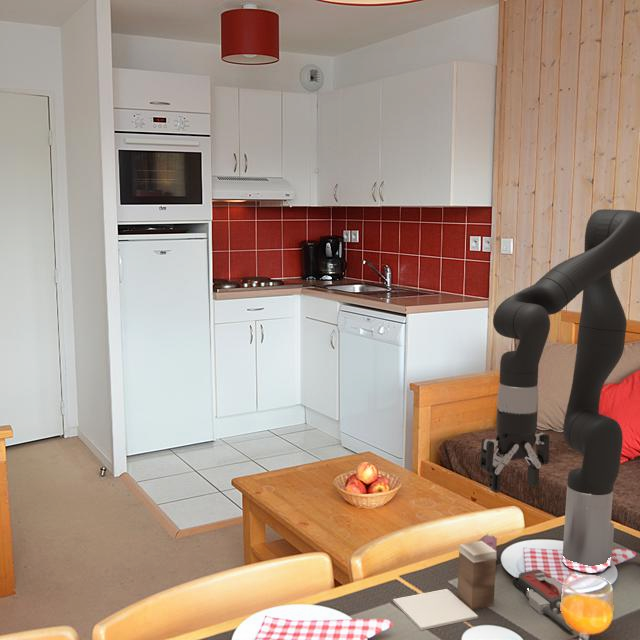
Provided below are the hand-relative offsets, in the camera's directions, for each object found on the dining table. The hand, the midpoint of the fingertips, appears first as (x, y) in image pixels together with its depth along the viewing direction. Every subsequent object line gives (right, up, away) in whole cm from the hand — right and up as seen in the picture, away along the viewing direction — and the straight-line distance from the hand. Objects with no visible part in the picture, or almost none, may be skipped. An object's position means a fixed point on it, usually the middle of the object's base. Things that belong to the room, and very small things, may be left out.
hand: (513, 488), depth 153 cm
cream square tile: (-16, -22, -3) cm, 27 cm away
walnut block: (-7, -22, 0) cm, 23 cm away
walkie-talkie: (+7, -23, 0) cm, 24 cm away
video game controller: (-3, -20, +17) cm, 26 cm away
